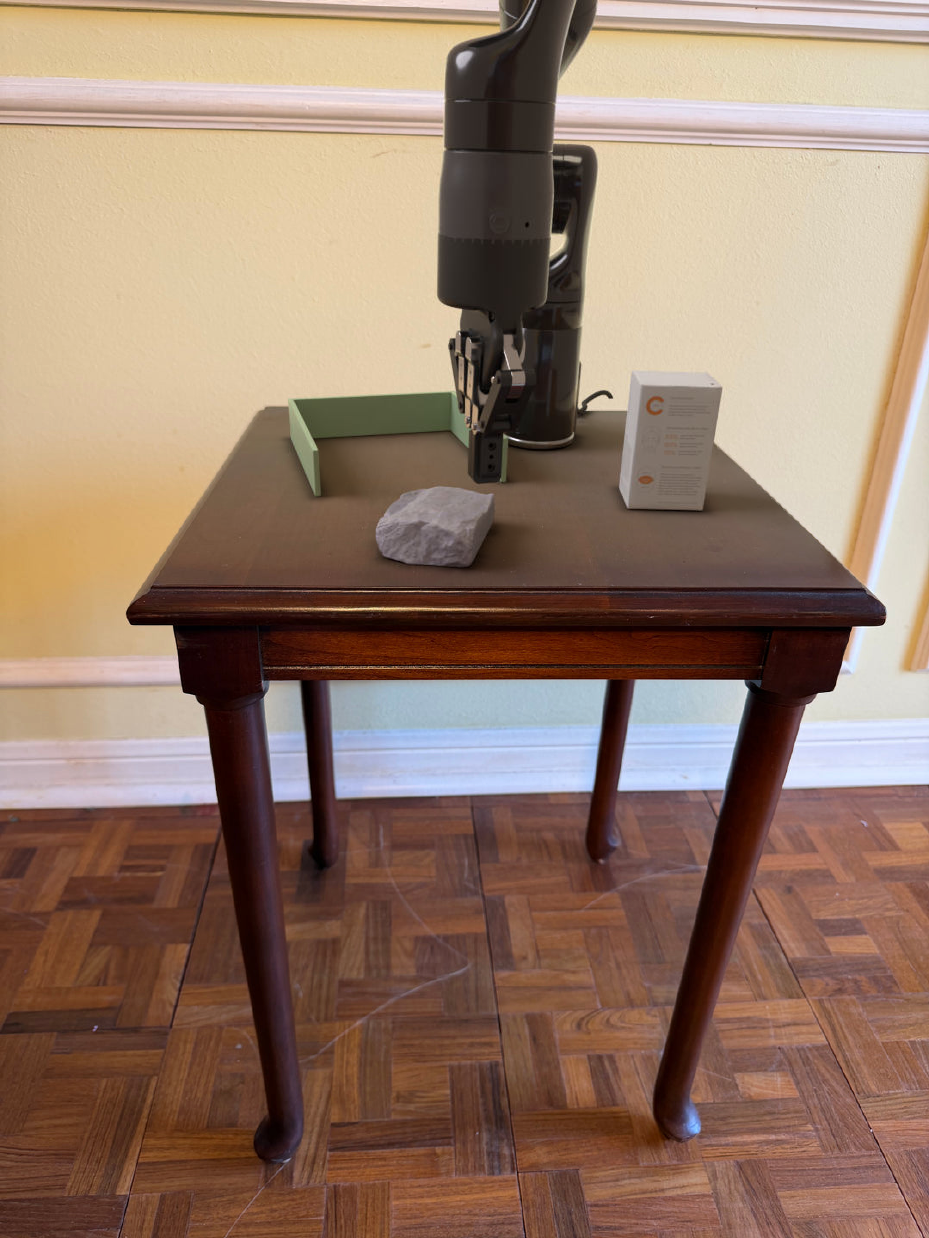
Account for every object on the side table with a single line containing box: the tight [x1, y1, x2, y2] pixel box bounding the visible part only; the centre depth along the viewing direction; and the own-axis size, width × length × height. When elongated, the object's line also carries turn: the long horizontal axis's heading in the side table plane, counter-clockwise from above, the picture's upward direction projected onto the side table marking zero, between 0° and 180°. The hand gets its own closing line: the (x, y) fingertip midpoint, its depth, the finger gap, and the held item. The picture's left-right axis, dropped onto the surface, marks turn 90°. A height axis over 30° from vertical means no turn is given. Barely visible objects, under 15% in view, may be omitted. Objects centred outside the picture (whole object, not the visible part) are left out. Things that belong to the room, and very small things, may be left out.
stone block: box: [375, 485, 496, 568], centre depth 82 cm, size 12×5×10 cm
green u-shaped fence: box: [287, 390, 509, 497], centre depth 103 cm, size 21×21×5 cm
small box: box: [618, 370, 723, 511], centre depth 91 cm, size 8×6×13 cm
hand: (484, 479), depth 66 cm, fingers closed
